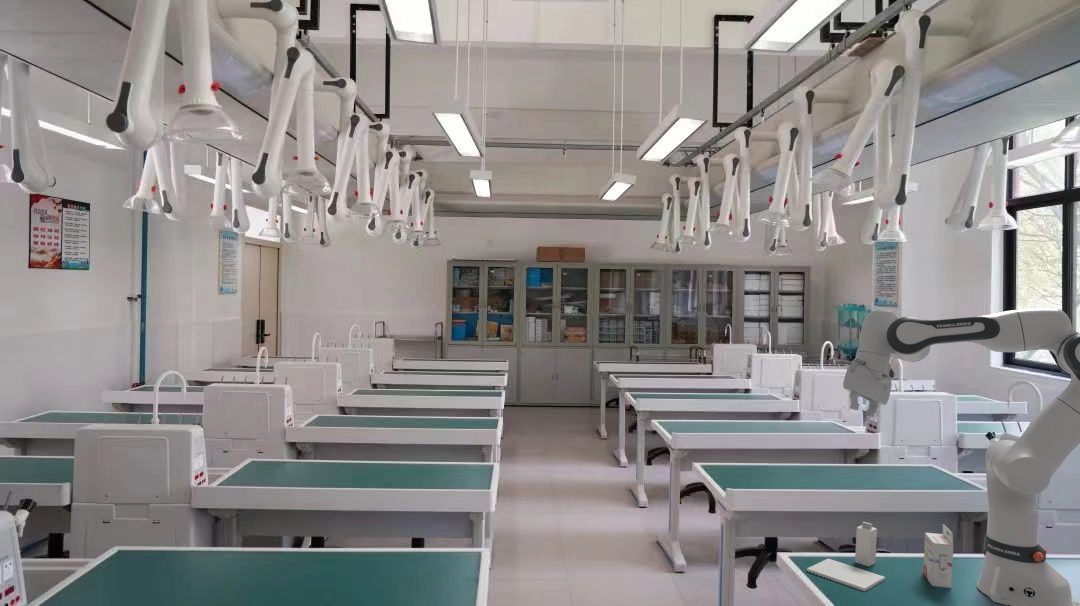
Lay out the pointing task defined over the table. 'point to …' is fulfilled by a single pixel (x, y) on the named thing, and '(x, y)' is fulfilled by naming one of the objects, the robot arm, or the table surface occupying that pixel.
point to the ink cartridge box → (938, 558)
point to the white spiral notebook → (846, 574)
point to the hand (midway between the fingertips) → (861, 413)
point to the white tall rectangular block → (866, 544)
